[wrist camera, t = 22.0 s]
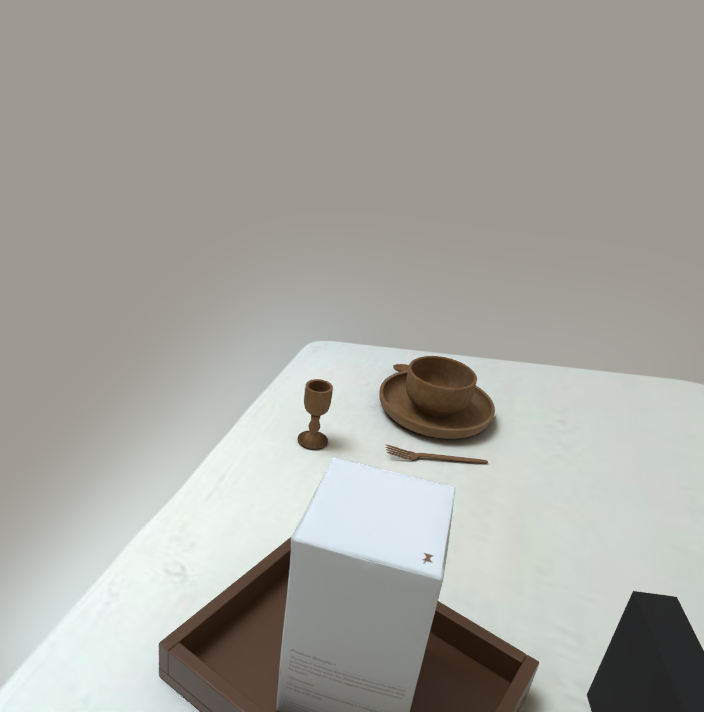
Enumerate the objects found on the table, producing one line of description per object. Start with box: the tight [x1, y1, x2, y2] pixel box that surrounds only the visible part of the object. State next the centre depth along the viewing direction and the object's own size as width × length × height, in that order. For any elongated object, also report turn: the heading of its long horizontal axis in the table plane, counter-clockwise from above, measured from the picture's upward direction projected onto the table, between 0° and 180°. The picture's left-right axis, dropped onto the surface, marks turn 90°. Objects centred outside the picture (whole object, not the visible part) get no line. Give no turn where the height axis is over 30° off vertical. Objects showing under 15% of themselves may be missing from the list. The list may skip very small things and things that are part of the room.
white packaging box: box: [276, 457, 455, 712], centre depth 36 cm, size 7×7×13 cm
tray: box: [159, 537, 539, 712], centre depth 39 cm, size 18×14×3 cm
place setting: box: [298, 356, 495, 463], centre depth 67 cm, size 18×20×6 cm
